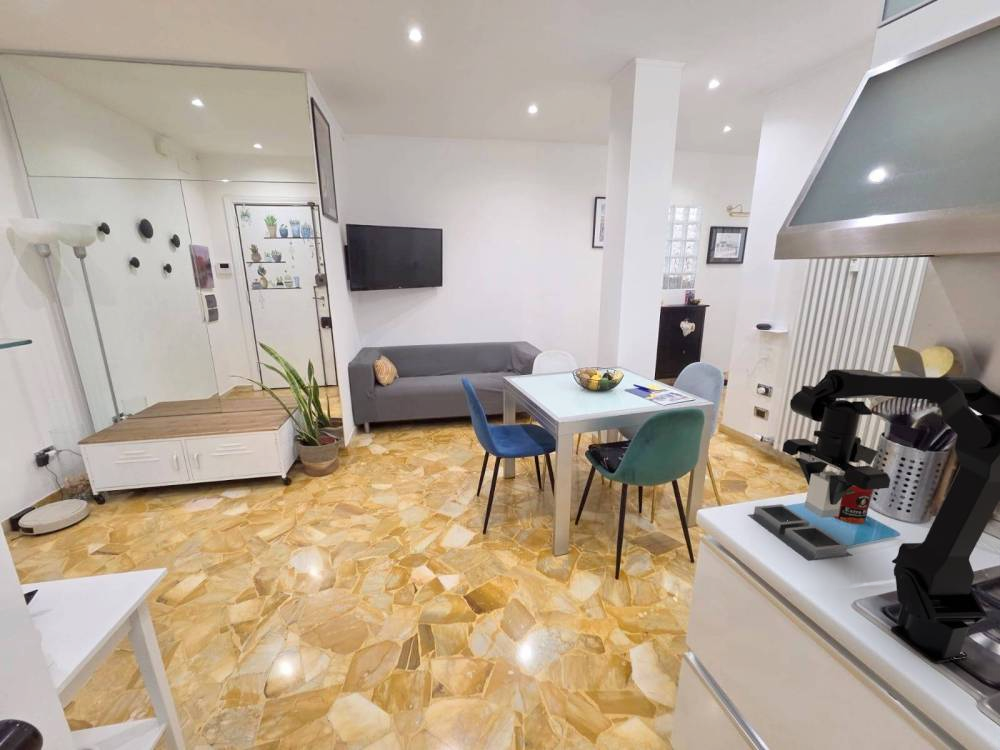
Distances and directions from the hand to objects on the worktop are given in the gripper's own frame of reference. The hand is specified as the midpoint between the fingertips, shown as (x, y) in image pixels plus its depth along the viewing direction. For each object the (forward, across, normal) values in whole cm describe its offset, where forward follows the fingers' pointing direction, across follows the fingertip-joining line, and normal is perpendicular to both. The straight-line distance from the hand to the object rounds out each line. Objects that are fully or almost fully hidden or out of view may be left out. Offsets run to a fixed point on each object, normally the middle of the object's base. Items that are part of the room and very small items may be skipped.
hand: (823, 498), depth 86 cm
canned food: (+12, +10, -19) cm, 25 cm away
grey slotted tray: (+12, +5, 0) cm, 13 cm away
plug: (+3, 0, 0) cm, 3 cm away
